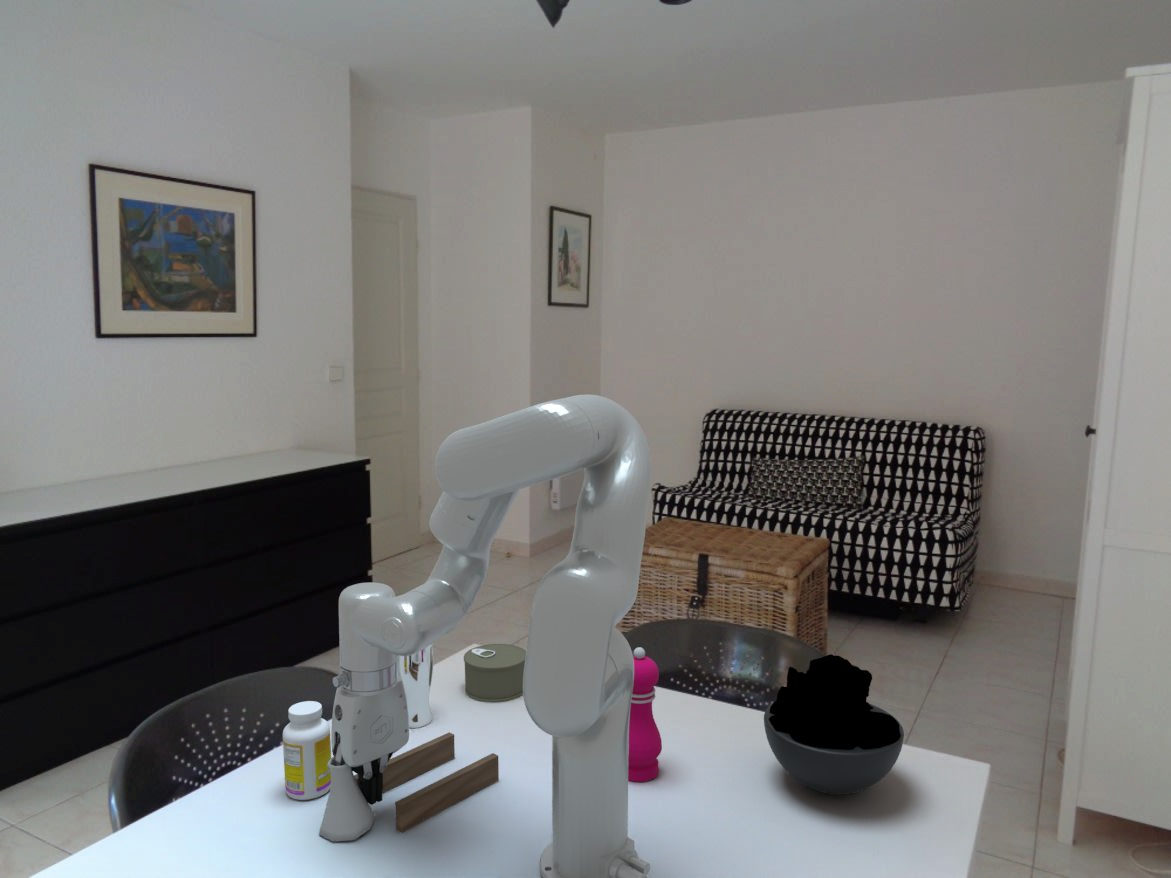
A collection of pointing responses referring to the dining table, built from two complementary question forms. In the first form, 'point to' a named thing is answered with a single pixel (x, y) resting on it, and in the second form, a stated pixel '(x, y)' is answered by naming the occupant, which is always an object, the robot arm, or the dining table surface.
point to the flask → (345, 807)
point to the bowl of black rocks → (832, 728)
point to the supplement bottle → (306, 752)
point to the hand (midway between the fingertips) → (370, 799)
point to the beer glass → (417, 685)
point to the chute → (441, 791)
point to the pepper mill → (643, 721)
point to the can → (494, 672)
